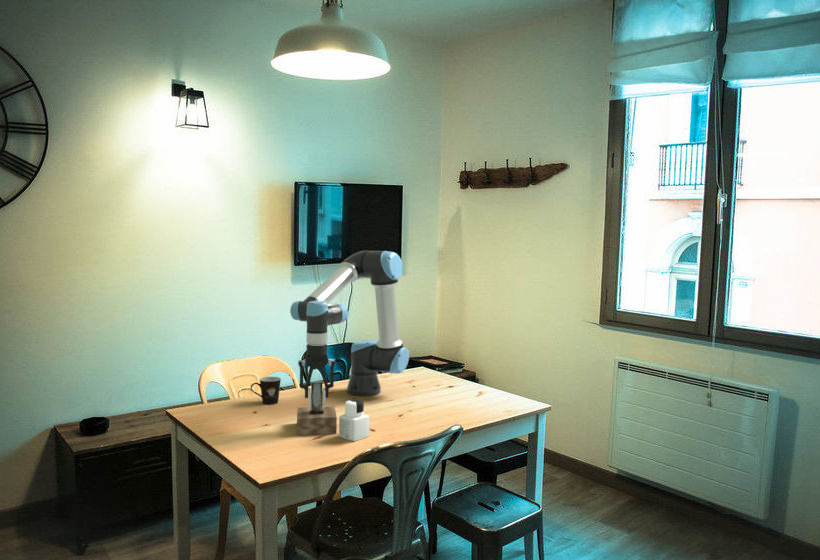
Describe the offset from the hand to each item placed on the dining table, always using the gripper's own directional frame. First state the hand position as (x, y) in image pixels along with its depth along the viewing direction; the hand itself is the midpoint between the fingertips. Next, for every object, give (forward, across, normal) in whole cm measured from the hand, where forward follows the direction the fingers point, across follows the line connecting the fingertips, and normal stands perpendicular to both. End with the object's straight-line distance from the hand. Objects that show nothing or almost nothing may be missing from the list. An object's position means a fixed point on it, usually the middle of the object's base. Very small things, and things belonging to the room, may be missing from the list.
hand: (316, 406), depth 234 cm
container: (+8, -13, +11) cm, 19 cm away
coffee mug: (+8, +20, -37) cm, 43 cm away
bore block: (+8, 0, 0) cm, 8 cm away
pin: (+6, 0, 0) cm, 6 cm away
